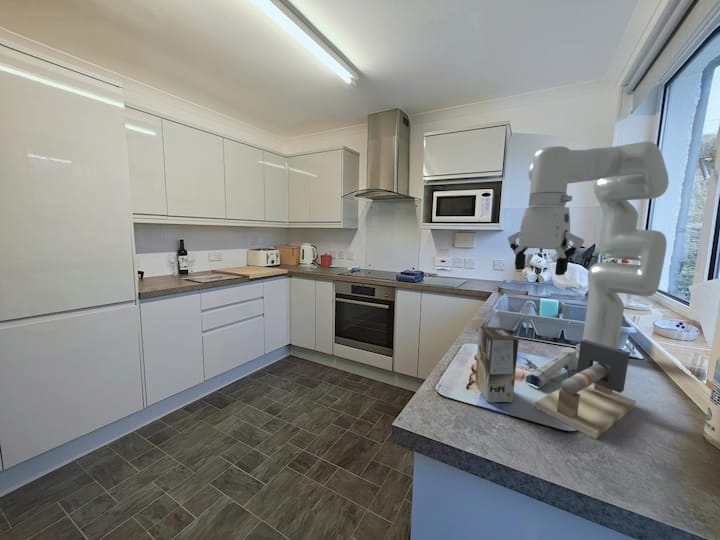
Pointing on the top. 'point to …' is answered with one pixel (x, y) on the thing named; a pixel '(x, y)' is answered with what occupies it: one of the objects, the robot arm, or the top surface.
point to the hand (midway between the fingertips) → (538, 271)
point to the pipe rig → (587, 402)
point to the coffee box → (496, 364)
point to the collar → (608, 357)
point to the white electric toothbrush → (553, 367)
